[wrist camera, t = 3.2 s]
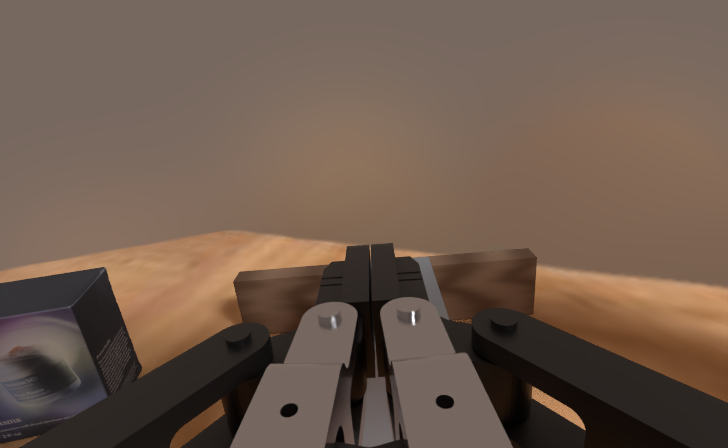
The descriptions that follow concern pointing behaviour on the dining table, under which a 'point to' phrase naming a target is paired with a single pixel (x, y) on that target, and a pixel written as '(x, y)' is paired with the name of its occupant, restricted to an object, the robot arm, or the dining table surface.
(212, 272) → the dining table surface
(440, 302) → the slate block
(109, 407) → the robot arm
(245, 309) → the walnut board
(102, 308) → the small box
